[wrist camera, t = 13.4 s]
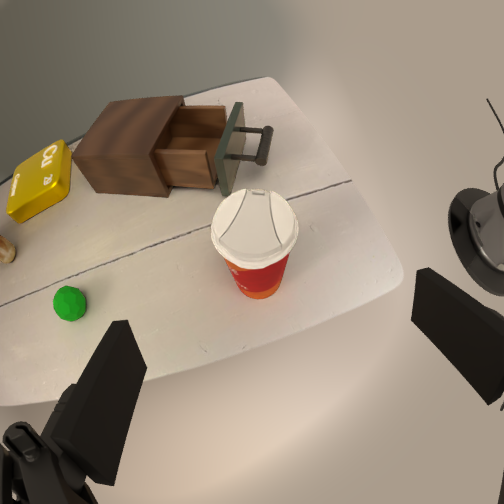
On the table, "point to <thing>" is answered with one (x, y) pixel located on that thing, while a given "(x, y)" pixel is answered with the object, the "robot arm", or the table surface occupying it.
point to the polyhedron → (69, 303)
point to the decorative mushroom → (6, 250)
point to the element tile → (40, 182)
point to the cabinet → (127, 147)
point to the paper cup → (255, 239)
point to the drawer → (207, 147)
